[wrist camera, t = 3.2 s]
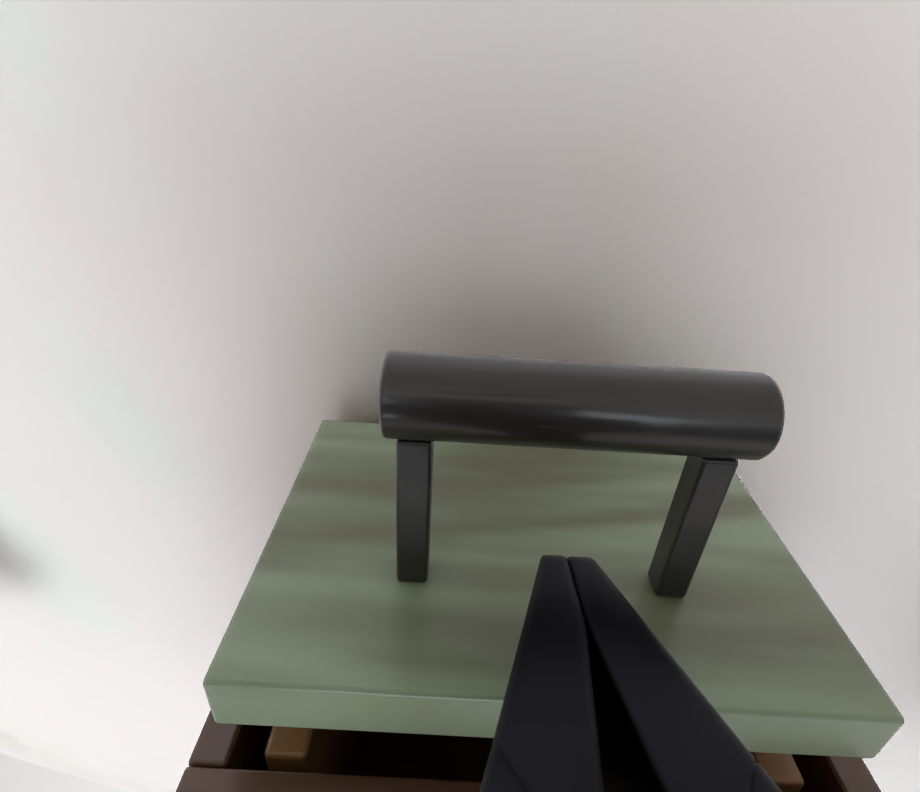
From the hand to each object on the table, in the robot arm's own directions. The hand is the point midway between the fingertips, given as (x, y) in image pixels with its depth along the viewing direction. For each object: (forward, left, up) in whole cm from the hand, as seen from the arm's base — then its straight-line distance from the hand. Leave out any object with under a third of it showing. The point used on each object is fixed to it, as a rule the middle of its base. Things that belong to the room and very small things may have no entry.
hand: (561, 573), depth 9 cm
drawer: (0, +5, -6) cm, 8 cm away
